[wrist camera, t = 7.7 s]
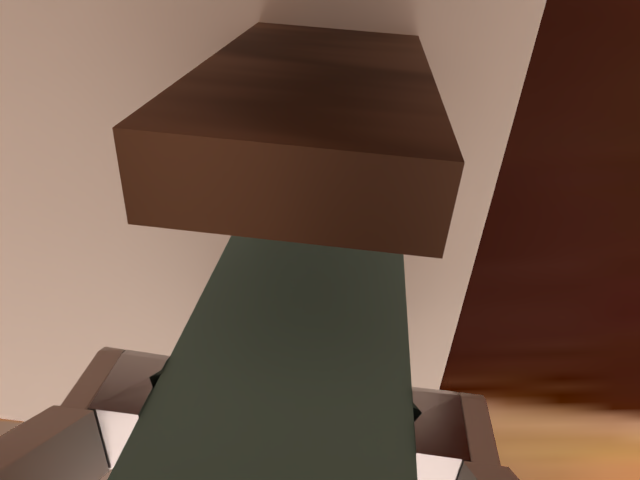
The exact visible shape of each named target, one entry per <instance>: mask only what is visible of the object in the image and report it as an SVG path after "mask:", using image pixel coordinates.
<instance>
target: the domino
mask: <svg viewBox="0 0 640 480" xmlns="http://www.w3.org/2000/svg"><path fill="white" fill-rule="evenodd" d="M112 130H113V136H114V142H115V148H116V154H117V160H118V166H119V173H120V179H121V185H122V191H123V197H124V203H125V209H126V215H127V221H128V224H130V225H139V226H148V227H158V228H167V229H176V230H185V231H194V232H203V233H212V234H221V235H231V236H240V237H249V238H258V239H267V240H276V241H285V242H294V243H304V244H313V245H322V246H331V247H340V248H349V249H358V250H367V251H377V252H386V253H395V254H404V255H413V256H422V257H431V258H440V259H442V258H443V254H444V249H445V245H446V241H447V236H448V232H449V228H450V224H451V219H452V215H453V211H454V207H455V202H456V198H457V194H458V189H459V185H460V181H461V177H462V172H463V168H464V164H465V162H464V159H463V156H462V154H461V151H460V148H459V145H458V143H457V140H456V137H455V134H454V132H453V129H452V126H451V123H450V121H449V118H448V115H447V113H446V110H445V107H444V104H443V102H442V99H441V96H440V93H439V91H438V88H437V85H436V82H435V80H434V77H433V74H432V72H431V69H430V66H429V63H428V61H427V58H426V55H425V52H424V50H423V47H422V44H421V41H420V39H419V36H416V35H404V34H392V33H380V32H369V31H357V30H345V29H333V28H322V27H310V26H298V25H287V24H275V23H263V22H258V23H256V24H255V25H254V26H252V27H251V28H249V29H248V30H247V31H245V32H244V33H242V34H241V35H240V36H238V37H237V38H236V39H234V40H233V41H231V42H230V43H229V44H227V45H226V46H225V47H223V48H222V49H220V50H219V51H218V52H216V53H215V54H213V55H212V56H211V57H209V58H208V59H207V60H205V61H204V62H202V63H201V64H200V65H198V66H197V67H195V68H194V69H193V70H191V71H190V72H189V73H187V74H186V75H184V76H183V77H182V78H180V79H179V80H177V81H176V82H175V83H173V84H172V85H171V86H169V87H168V88H166V89H165V90H164V91H162V92H161V93H159V94H158V95H157V96H155V97H154V98H153V99H151V100H150V101H148V102H147V103H146V104H144V105H143V106H142V107H140V108H139V109H137V110H136V111H135V112H133V113H132V114H130V115H129V116H128V117H126V118H125V119H124V120H122V121H121V122H119V123H118V124H117V125H115V126H114V127H112Z"/></svg>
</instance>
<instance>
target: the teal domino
mask: <svg viewBox="0 0 640 480" xmlns="http://www.w3.org/2000/svg"><path fill="white" fill-rule="evenodd" d="M170 356H171V357H170V359H169V361H168V363H167V365H166V367H165V369H164V371H163V373H162V374H161V375H160V377H159V379H158V381H157V383H156V385H155V387H154V389H153V392H152V394H151V396H150V398H149V400H148V402H147V404H146V406H145V408H144V410H143V412H142V414H141V416H140V418H139V419H138V420H137V422H136V424H135V426H134V428H133V430H132V432H131V434H130V436H129V438H128V440H127V442H126V444H125V446H124V448H123V450H122V452H121V454H120V456H119V458H118V460H117V462H116V464H115V466H114V468H113V470H112V472H111V474H110V476H109V478H108V480H418V478H417V462H416V457H415V443H414V428H413V425H414V415H413V406H412V394H411V388H412V383H411V367H410V351H409V335H408V319H407V303H406V287H405V272H404V256H403V254H395V253H386V252H377V251H367V250H358V249H349V248H340V247H331V246H322V245H313V244H304V243H294V242H285V241H276V240H267V239H258V238H249V237H240V236H231V237H230V239H229V241H228V243H227V245H226V247H225V249H224V251H223V253H222V255H221V257H220V259H219V261H218V263H217V265H216V267H215V269H214V270H213V272H212V274H211V276H210V278H209V280H208V282H207V284H206V286H205V288H204V290H203V292H202V294H201V296H200V298H199V300H198V302H197V304H196V306H195V308H194V310H193V312H192V314H191V316H190V318H189V320H188V322H187V324H186V326H185V328H184V330H183V332H182V334H181V336H180V338H179V340H178V341H177V343H176V345H175V347H174V349H173V351H172V353H171V355H170Z"/></svg>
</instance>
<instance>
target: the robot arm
mask: <svg viewBox="0 0 640 480" xmlns="http://www.w3.org/2000/svg"><path fill="white" fill-rule="evenodd" d="M170 357H171V356H166V355H160V354H153V353H147V352H140V351H134V350H125V349H119V348H112V347H103V348H102V349H101V350H99V351H98V352H97V353H96V355H95V356H94V358H93V359H92V361H91V362H90V364H89V365H88V366H87V368H86V369H85V371H84V372H83V374H82V375H81V377H80V378H79V379H78V381H77V382H76V384H75V385H74V387H73V388H72V390H71V391H70V392H69V394H68V395H67V397H66V398H65V400H64V401H63V403H62V404H61V405H60V406H58V405H52V406H51V407H49V408H47V409H46V410H44V411H42V412H41V413H39V414H37V415H35V416H34V417H32V418H30V419H29V420H27V421H25V422H23V423H22V424H20V425H18V426H17V427H15V428H13V429H11V430H10V431H8V432H7V433H5V434H3V435H1V436H0V480H100V479H101V478H102V477H103V476H104V475H106V474H107V473H108V472H109V469H113V468H114V466H115V464H116V462H117V460H118V458H119V456H120V454H121V452H122V450H123V448H124V446H125V444H126V442H127V440H128V438H129V436H130V434H131V432H132V430H133V428H134V426H135V424H136V422H137V420H138V419H139V418H140V416H141V414H142V412H143V410H144V408H145V406H146V404H147V402H148V400H149V398H150V396H151V394H152V392H153V389H154V387H155V385H156V383H157V381H158V379H159V377H160V375H161V374H162V373H163V371H164V369H165V367H166V365H167V363H168V361H169V359H170ZM411 394H412V406H413V415H414V425H413V428H414V443H415V457H416V462H417V478H418V480H519V479H518V478H517V476H516V475H515V474H514V473H513V472H512V471H511V470H510V468H509V467H504V466H501V465H500V460H499V456H498V451H497V447H496V443H495V438H494V434H493V429H492V425H491V420H490V416H489V412H488V407H487V403H486V399H485V398H484V396H483V395H476V394H468V393H460V392H459V393H457V392H453V391H445V390H436V389H427V388H419V387H412V388H411Z"/></svg>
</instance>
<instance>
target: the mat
mask: <svg viewBox="0 0 640 480" xmlns="http://www.w3.org/2000/svg"><path fill="white" fill-rule="evenodd" d="M545 4H546V0H0V418H2V419H10V420H17V421H27V420H29V419H30V418H32V417H34V416H35V415H37V414H39V413H41V412H42V411H44V410H46V409H47V408H49V407H51V406H52V405H58V406H60V405H61V404H62V403H63V401H64V400H65V398H66V397H67V395H68V394H69V392H70V391H71V390H72V388H73V387H74V385H75V384H76V382H77V381H78V379H79V378H80V377H81V375H82V374H83V372H84V371H85V369H86V368H87V366H88V365H89V364H90V362H91V361H92V359H93V358H94V356H95V355H96V353H97V352H98V351H99V350H101V349H102V348H103V347H112V348H119V349H125V350H134V351H140V352H147V353H153V354H160V355H166V356H170V355H171V353H172V351H173V349H174V347H175V345H176V343H177V341H178V340H179V338H180V336H181V334H182V332H183V330H184V328H185V326H186V324H187V322H188V320H189V318H190V316H191V314H192V312H193V310H194V308H195V306H196V304H197V302H198V300H199V298H200V296H201V294H202V292H203V290H204V288H205V286H206V284H207V282H208V280H209V278H210V276H211V274H212V272H213V270H214V269H215V267H216V265H217V263H218V261H219V259H220V257H221V255H222V253H223V251H224V249H225V247H226V245H227V243H228V241H229V239H230V237H231V235H221V234H212V233H203V232H194V231H185V230H176V229H167V228H158V227H148V226H139V225H130V224H128V221H127V215H126V209H125V203H124V197H123V191H122V185H121V179H120V173H119V166H118V160H117V154H116V148H115V142H114V136H113V130H112V127H114V126H115V125H117V124H118V123H119V122H121V121H122V120H124V119H125V118H126V117H128V116H129V115H130V114H132V113H133V112H135V111H136V110H137V109H139V108H140V107H142V106H143V105H144V104H146V103H147V102H148V101H150V100H151V99H153V98H154V97H155V96H157V95H158V94H159V93H161V92H162V91H164V90H165V89H166V88H168V87H169V86H171V85H172V84H173V83H175V82H176V81H177V80H179V79H180V78H182V77H183V76H184V75H186V74H187V73H189V72H190V71H191V70H193V69H194V68H195V67H197V66H198V65H200V64H201V63H202V62H204V61H205V60H207V59H208V58H209V57H211V56H212V55H213V54H215V53H216V52H218V51H219V50H220V49H222V48H223V47H225V46H226V45H227V44H229V43H230V42H231V41H233V40H234V39H236V38H237V37H238V36H240V35H241V34H242V33H244V32H245V31H247V30H248V29H249V28H251V27H252V26H254V25H255V24H256V23H258V22H263V23H275V24H287V25H298V26H310V27H322V28H333V29H345V30H357V31H369V32H380V33H392V34H404V35H416V36H419V39H420V41H421V44H422V47H423V50H424V52H425V55H426V58H427V61H428V63H429V66H430V69H431V72H432V74H433V77H434V80H435V82H436V85H437V88H438V91H439V93H440V96H441V99H442V102H443V104H444V107H445V110H446V113H447V115H448V118H449V121H450V123H451V126H452V129H453V132H454V134H455V137H456V140H457V143H458V145H459V148H460V151H461V154H462V156H463V159H464V162H465V164H464V168H463V172H462V177H461V181H460V185H459V189H458V194H457V198H456V202H455V207H454V211H453V215H452V219H451V224H450V228H449V232H448V236H447V241H446V245H445V249H444V254H443V258H442V259H440V258H431V257H422V256H413V255H404V254H403V256H404V272H405V287H406V303H407V319H408V335H409V351H410V367H411V383H412V387H419V388H427V389H436V390H439V388H440V384H441V380H442V377H443V373H444V370H445V366H446V362H447V359H448V355H449V352H450V348H451V344H452V341H453V337H454V333H455V330H456V326H457V323H458V319H459V315H460V312H461V308H462V304H463V301H464V297H465V294H466V290H467V286H468V283H469V279H470V275H471V272H472V268H473V265H474V261H475V257H476V254H477V250H478V247H479V243H480V239H481V236H482V232H483V228H484V225H485V221H486V218H487V214H488V210H489V207H490V203H491V199H492V196H493V192H494V189H495V185H496V181H497V178H498V174H499V170H500V167H501V163H502V160H503V156H504V152H505V149H506V145H507V142H508V138H509V134H510V131H511V127H512V123H513V120H514V116H515V113H516V109H517V105H518V102H519V98H520V94H521V91H522V87H523V84H524V80H525V76H526V73H527V69H528V65H529V62H530V58H531V55H532V51H533V47H534V44H535V40H536V37H537V33H538V29H539V26H540V22H541V18H542V15H543V11H544V8H545Z"/></svg>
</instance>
